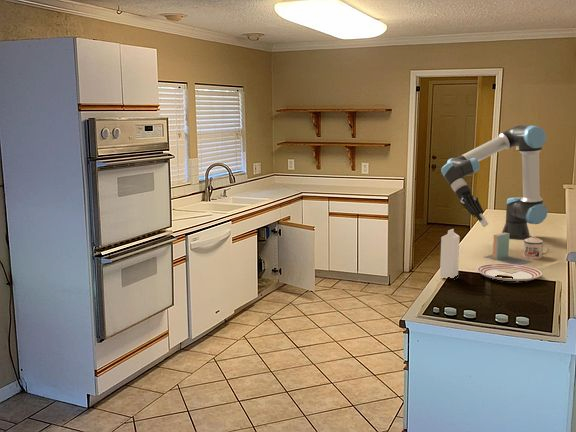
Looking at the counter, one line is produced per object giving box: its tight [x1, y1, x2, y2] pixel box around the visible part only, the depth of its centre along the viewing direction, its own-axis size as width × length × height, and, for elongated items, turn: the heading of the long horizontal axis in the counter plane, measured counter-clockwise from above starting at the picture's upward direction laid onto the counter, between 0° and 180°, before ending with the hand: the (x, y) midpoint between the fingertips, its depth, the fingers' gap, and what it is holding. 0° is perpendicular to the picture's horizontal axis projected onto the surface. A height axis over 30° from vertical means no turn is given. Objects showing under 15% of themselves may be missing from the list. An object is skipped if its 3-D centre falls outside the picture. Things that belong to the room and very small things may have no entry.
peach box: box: [492, 232, 510, 260], centre depth 292 cm, size 2×9×12 cm, turn 125°
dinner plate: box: [476, 263, 543, 283], centre depth 263 cm, size 27×27×3 cm
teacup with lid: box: [522, 234, 550, 260], centre depth 292 cm, size 12×9×12 cm
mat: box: [483, 254, 534, 266], centre depth 290 cm, size 20×12×1 cm, turn 35°
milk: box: [439, 228, 461, 278], centre depth 261 cm, size 6×6×22 cm
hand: (485, 225), depth 298 cm, fingers closed
